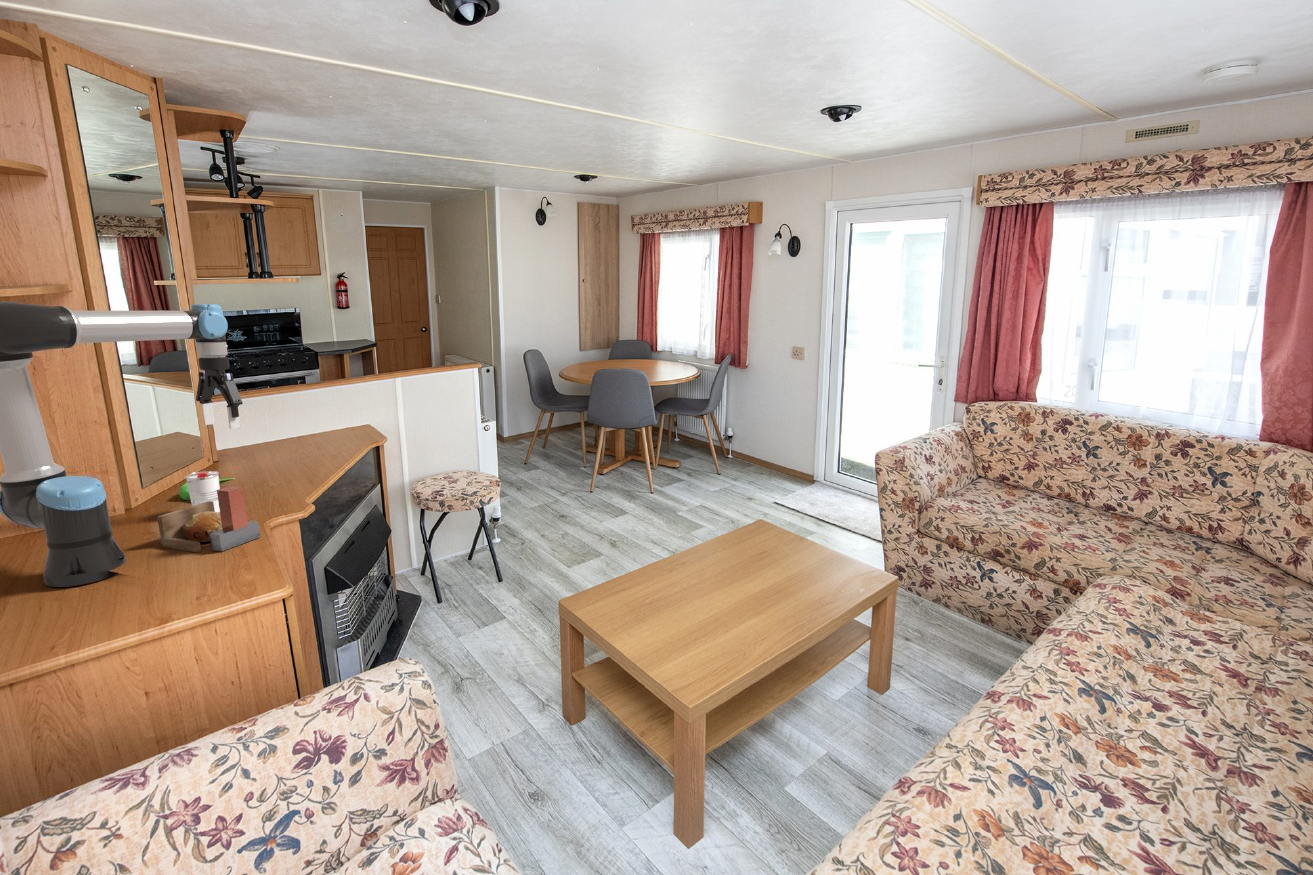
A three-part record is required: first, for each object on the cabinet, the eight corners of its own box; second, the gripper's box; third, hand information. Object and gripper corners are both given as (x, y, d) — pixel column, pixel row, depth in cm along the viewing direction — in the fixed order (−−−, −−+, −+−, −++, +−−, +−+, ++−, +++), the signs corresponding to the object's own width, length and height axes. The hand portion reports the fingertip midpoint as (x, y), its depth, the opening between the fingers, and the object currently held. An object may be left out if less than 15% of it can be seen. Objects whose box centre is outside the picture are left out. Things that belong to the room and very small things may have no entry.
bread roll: (227, 536, 179) (221, 508, 179) (234, 536, 172) (228, 507, 172) (184, 545, 172) (178, 516, 172) (189, 545, 165) (184, 515, 165)
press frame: (196, 552, 163) (191, 522, 161) (159, 546, 167) (154, 517, 166) (251, 532, 177) (247, 505, 176) (215, 527, 182) (211, 500, 180)
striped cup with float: (205, 518, 189) (199, 479, 187) (181, 516, 191) (175, 478, 189) (233, 508, 199) (228, 471, 197) (210, 506, 201) (204, 469, 198)
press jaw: (223, 551, 163) (215, 495, 160) (211, 549, 164) (203, 493, 161) (261, 537, 173) (254, 483, 170) (250, 535, 175) (243, 482, 172)
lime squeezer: (211, 509, 199) (208, 490, 198) (166, 513, 195) (163, 494, 194) (240, 482, 230) (237, 465, 229) (201, 485, 226) (199, 468, 225)
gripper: (250, 357, 189) (258, 427, 193) (203, 354, 200) (212, 421, 204) (223, 358, 182) (233, 431, 186) (176, 355, 194) (186, 424, 198)
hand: (222, 426), depth 195 cm, fingers open, 13 cm apart
